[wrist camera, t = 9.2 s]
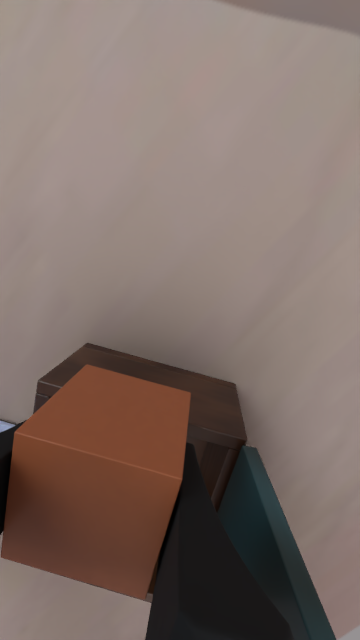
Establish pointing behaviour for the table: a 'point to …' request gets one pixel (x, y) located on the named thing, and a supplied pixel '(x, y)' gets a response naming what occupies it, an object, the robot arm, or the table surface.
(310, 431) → the table surface
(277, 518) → the lid
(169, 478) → the block
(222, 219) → the table surface
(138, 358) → the toy box
